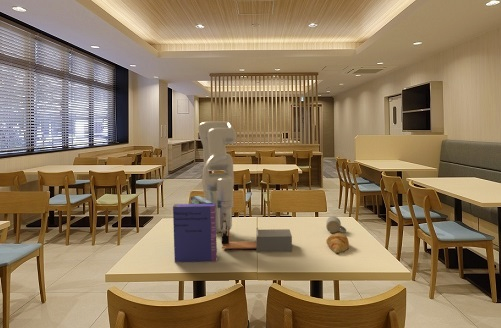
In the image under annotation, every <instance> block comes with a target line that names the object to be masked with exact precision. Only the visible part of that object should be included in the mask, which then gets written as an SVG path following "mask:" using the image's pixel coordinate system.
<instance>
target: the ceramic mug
mask: <svg viewBox="0 0 501 328" xmlns="http://www.w3.org/2000/svg"><path fill="white" fill-rule="evenodd" d="M326 229H327V231H328V232H329V233H331V234H335V233H342V234H345V233H346V232H347V228H346V227H344V226H343V225H342V223H341V220H340V218H338V216H333V215H331V216H329V217H328V218H327V219H326Z"/></svg>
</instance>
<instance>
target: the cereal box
mask: <svg viewBox="0 0 501 328" xmlns="http://www.w3.org/2000/svg"><path fill="white" fill-rule="evenodd" d="M172 218H173V243H174V244H173V250H174V251H173V252H174V253H173V255H174V263H193V262H194V263H197V262H199V263H200V262H203V263H205V262H206V263H207V262H217V258H218V254H217V252H218V251H217V250H218V249H217V248H218V247H217V233H216V204H191V203H177V204H175V203H174V204H173V207H172Z"/></svg>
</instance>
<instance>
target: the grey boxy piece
mask: <svg viewBox="0 0 501 328" xmlns="http://www.w3.org/2000/svg"><path fill="white" fill-rule="evenodd" d="M256 241H257V248H256V253H259V252H260V253H261V252H264V253H265V252H267V253H269V252H271V253H272V252H276V253H277V252H281V253H282V252H293V236H292V233H291V230H290V229H287V228H286V229H284V228H283V229H281V228H279V229H275V228H274V229H270V228H269V229H259V227H256Z"/></svg>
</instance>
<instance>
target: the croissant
mask: <svg viewBox="0 0 501 328" xmlns="http://www.w3.org/2000/svg"><path fill="white" fill-rule="evenodd" d="M325 243H326V244H327V246H328V248H329V249H331V251H333V253H335V254H339V253H343V252H345V251H346V250H349V246H350V245H349V244H350V243H349V238H348V237H347V235H345V233H342V232H336V233H331V235H329V236H328V237H327V238H326V242H325Z"/></svg>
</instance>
